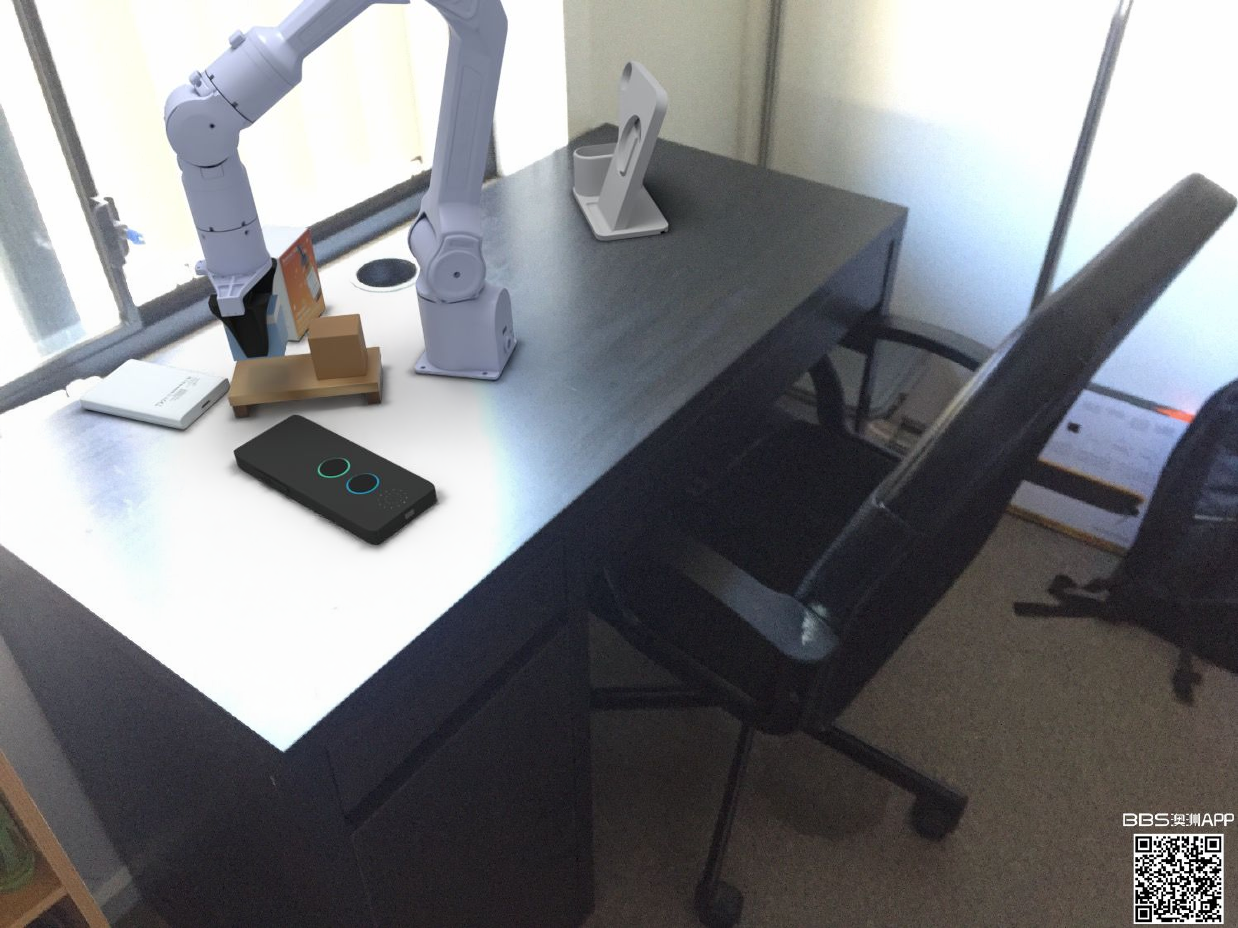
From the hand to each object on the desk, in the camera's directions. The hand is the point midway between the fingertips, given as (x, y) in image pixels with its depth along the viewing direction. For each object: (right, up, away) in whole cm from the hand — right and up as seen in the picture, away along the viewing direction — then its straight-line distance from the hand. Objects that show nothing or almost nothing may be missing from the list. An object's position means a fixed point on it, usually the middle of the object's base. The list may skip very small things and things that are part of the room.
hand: (260, 343), depth 107 cm
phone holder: (+37, +23, +39) cm, 58 cm away
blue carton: (0, 0, 0) cm, 1 cm away
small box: (-2, +4, +16) cm, 17 cm away
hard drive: (-12, -6, +4) cm, 14 cm away
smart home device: (+10, -14, -7) cm, 19 cm away
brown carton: (+8, -2, +3) cm, 8 cm away
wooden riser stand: (+4, -5, +5) cm, 8 cm away
